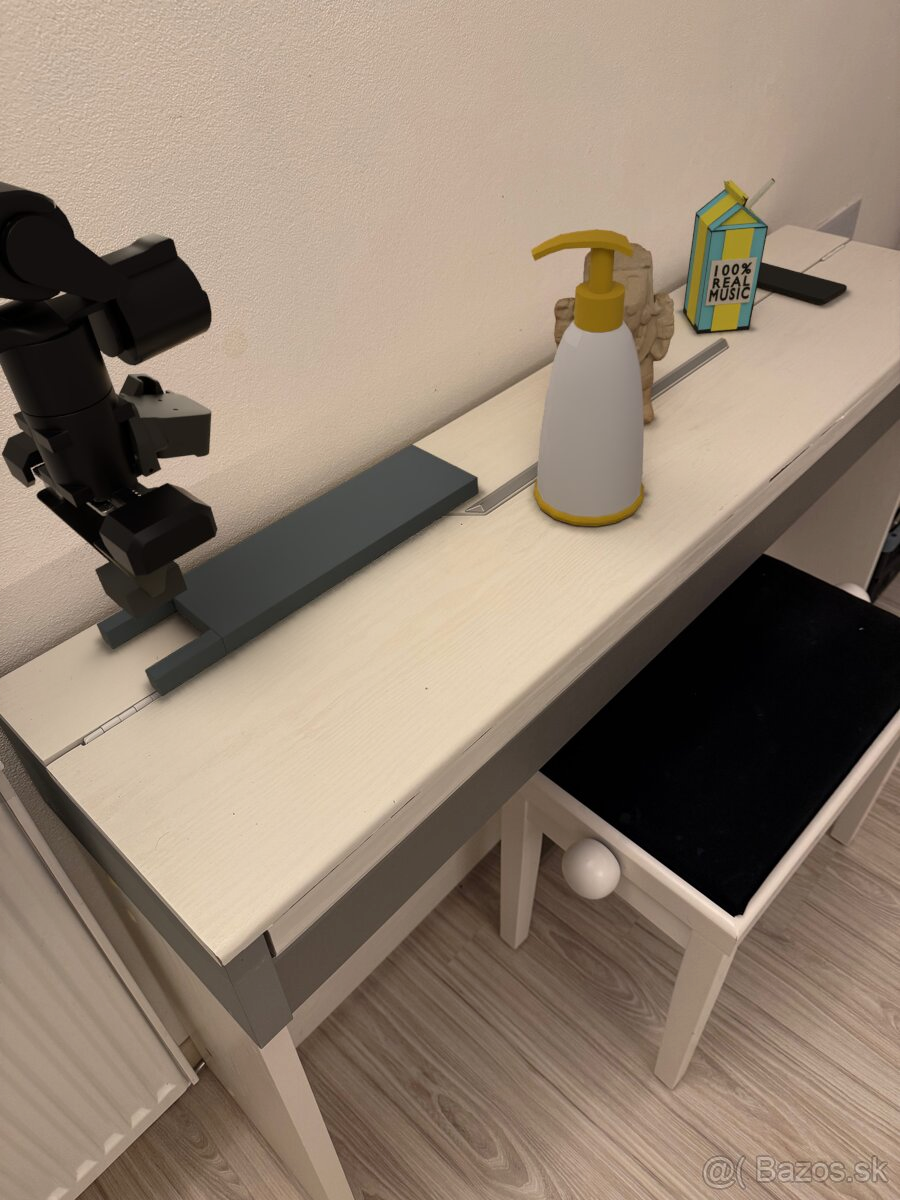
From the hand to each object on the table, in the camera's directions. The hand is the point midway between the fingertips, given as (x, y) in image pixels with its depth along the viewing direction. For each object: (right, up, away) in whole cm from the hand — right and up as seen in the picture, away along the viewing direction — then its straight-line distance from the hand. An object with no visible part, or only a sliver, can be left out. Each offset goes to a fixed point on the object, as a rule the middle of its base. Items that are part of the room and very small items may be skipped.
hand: (141, 580), depth 65 cm
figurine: (+41, +19, +34) cm, 57 cm away
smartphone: (+72, +44, +59) cm, 103 cm away
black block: (0, -1, +1) cm, 1 cm away
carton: (+60, +36, +52) cm, 87 cm away
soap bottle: (+37, +9, +24) cm, 45 cm away
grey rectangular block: (+9, +2, +18) cm, 21 cm away
